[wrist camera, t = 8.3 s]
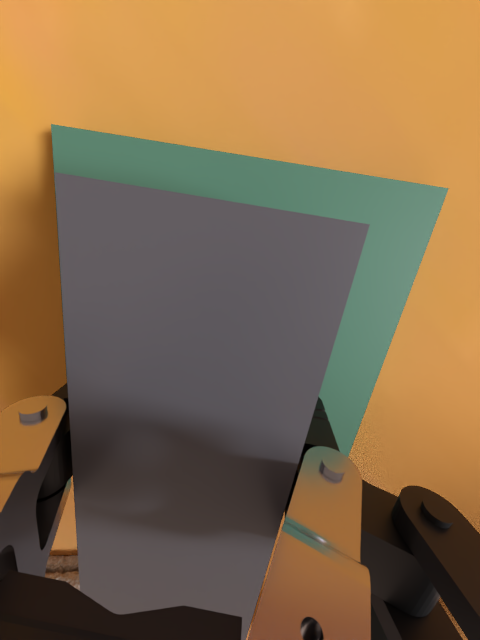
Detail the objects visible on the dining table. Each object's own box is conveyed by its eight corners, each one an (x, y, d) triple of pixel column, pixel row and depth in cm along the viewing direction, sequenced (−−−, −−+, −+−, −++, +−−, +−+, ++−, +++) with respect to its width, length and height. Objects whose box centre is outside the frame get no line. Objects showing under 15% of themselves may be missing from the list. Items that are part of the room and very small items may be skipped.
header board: (427, 193, 10) (554, 164, 6) (321, 494, 15) (345, 600, 11) (73, 135, 11) (-62, 66, 6) (85, 449, 16) (16, 535, 11)
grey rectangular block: (162, 202, 9) (50, 171, 4) (312, 227, 9) (369, 224, 4) (146, 471, 13) (78, 612, 8) (250, 491, 13) (244, 646, 8)
